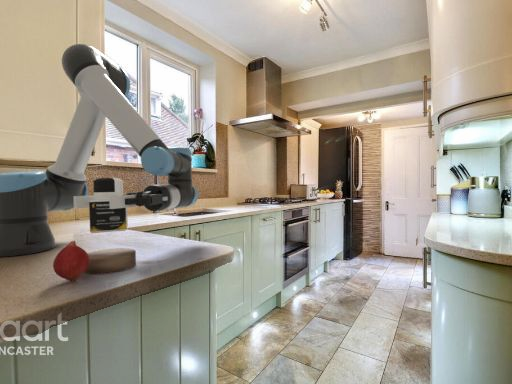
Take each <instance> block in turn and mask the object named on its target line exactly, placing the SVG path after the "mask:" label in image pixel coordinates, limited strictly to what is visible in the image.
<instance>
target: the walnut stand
mask: <svg viewBox="0 0 512 384" xmlns="http://www.w3.org/2000/svg"><path fill="white" fill-rule="evenodd" d="M86 253H87V254H88V256H89V265H88V267H87V270H86V271H85V272H84V273H83V274H88V275H105V274H106V275H107V274H114V273H117V272H118V273H119V272H123V271H127V270H128V269H131V268H133V267H135V266H136V265H137V252H136V250H135V249H133V248H125V247H123V248H121V247H118V248H117V247H116V248H105V249H100V250H95V251H91V252H86Z"/></svg>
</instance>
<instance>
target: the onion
mask: <svg viewBox="0 0 512 384" xmlns="http://www.w3.org/2000/svg"><path fill="white" fill-rule="evenodd" d="M86 251H87V250H85V249H83V248H82V247H81V246H79V245H77V244H76V241H75V240H71V241H69V243H68V244H66V246H64V247H63V248H62V249H61V250H60V251H59V252H58V253H57V254H56V256H55V257H54V260H53V264H52V267H53V272H54V273H55V274H56V275H57V276H58V277H59V278H61V279H64V280H67V281H68V282H75V281H77V280H78V279H79V278H80V277H81V276H82V275H84V274H85V273H84V272H85V271H86V270H87V267H88V265H89V256H88V254H87V253H88V252H86Z"/></svg>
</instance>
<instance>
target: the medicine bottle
mask: <svg viewBox="0 0 512 384" xmlns="http://www.w3.org/2000/svg"><path fill="white" fill-rule="evenodd" d="M124 193H125V192H124V180H123V179H121V178H117V177H98V178H96V179H94V180H93V195H94V196H95V197H96V199H93V200H90V201H89V207H88V211H89V213H88V214H89V232H90V234H96V233H97V234H99V233H110V232H122V231H127V229H128V226H129V225H128V207H127V208H117V209H110V203H109V196H122V195H124Z"/></svg>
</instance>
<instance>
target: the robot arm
mask: <svg viewBox="0 0 512 384" xmlns="http://www.w3.org/2000/svg"><path fill="white" fill-rule="evenodd" d="M61 66H62V69H63V71H64V73H65V75H66V76H67V77H68V79H69V80H70V82H71V83H72V84H73V85H74V86H75V87H76V88H77V92H78V94H79V97H80V98H79V100H78V104H77V105H76V108H75V111H74V114H73V117H72V119H71V121H70V124H69V127H68V130H67V131H66V135H65V137H64V139H63V142H62V145H61V146H60V150H59V153H58V155H57V158H56V161H55V163H54V164H52V165H50V166H47V168H46V171H42V170H41V171H39V170H37V171H35V170H34V171H17V172H16V171H15V172H3V173H0V257H15V256H22V255H30V254H36V253H41V252H46V251H49V250H52V249H54V248H55V247H56V238H55V236H54V233H53V232H52V229H51V227H50V225H49V221H48V213H50V212H59V211H69V210H73V209H85V208H86V209H87V208H89V201H90V200H93V199H96V197H95V196H94V194H93V195H89V188H88V184H87V179H88V177H87V176H86V174H85V171H86V168H87V165H88V163H89V161H90V158H91V156H92V153H93V150H94V148H95V145H96V143H97V140H98V138H99V136H100V134H101V131H102V127H103V126H104V123H105V120H106V118H107V119H108V121H109V122H110V123H111V124H112V125H113V126H114V127H115V129H116V130H117V131H118V133H119V134H120V135H121V136H122V137H123V138H124V140H125V141H126V142H127V143H128V144H129V145H130V147H131V148H132V149H133V150H134V152H135V153H136V154H137V155H138V156H139V157H140V162H141V163H140V164H141V166H142V168H143V169H144V170H145V172H146V173H148V174H151V175H153V176H156V177H157V176H158V177H167V184H151V185H147V186H146V187H145V188H144V189H143V191H142V190H141V191H135V192H127V193H125V194H124V195H122V196H109V203H110V209H117V208H127V209H128V208H135V207H136V206H137V207H145V209H147V210H148V211H150V212H158V211H166V212H170V210H172V209H173V210H174V209H180V208H187V207H191V206H193V205H195V204H196V203H197V201H198V199H199V192H198V189H197V187H195V186H194V185H193V179H192V176H193V173H192V170H193V169H192V160H193V157H192V151H191V149H190V148H188V147H184V146H183V147H182V146H173V147H168V146H167V145H166V143H165V142H164V141H163V140H162V139H161V138H160V136H159V135H158V134H157V133H156V132H155V130H153V128H152V127H151V126H150V124H149V123H148V122H147V121H146V120H145V119H144V118H143V116H142V115H141V114H140V113H139V111H138V110H137V109H136V108H135V107H134V106H133V104H132V103H131V102H130V101H129V99H128V98H127V96H128V95H129V93H130V89H131V81H130V80H131V79H130V77H129V75H128V73H127V72H126V71H125V69H123V67H121V66H120V64H118V63H116V62H115V61H114V60H112V59H110V58H109V57H107V56H106V55H105V54H104V53H102V52H100V50H98V49H96V48H95V47H93V46H92V45H91V46H90V45H88V44H84V43H82V44H81V43H76V44H72V45H70V46H69V47H67V48H66V49H65V50H64V51H63V53H62V57H61Z"/></svg>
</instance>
